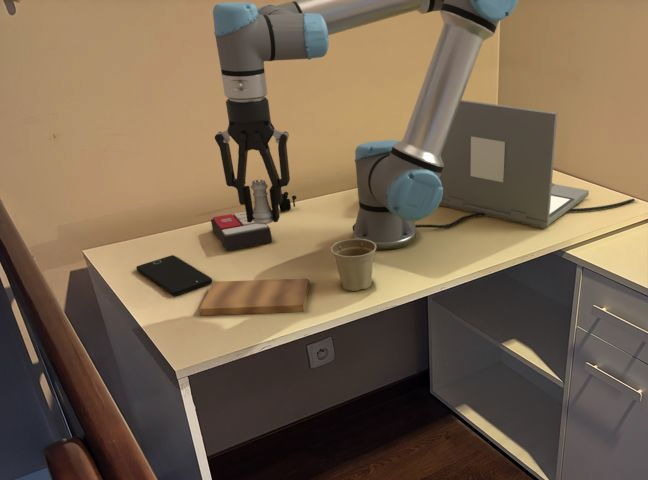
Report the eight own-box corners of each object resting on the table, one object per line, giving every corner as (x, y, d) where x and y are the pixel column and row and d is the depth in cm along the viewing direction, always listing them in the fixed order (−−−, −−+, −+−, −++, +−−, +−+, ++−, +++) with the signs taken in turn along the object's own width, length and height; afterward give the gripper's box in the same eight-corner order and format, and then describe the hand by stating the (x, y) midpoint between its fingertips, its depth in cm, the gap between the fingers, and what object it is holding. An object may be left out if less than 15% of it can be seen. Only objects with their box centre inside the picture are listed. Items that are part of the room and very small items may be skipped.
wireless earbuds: (275, 214, 180) (272, 196, 177) (270, 212, 182) (268, 193, 179) (298, 208, 184) (296, 190, 181) (293, 206, 186) (291, 188, 183)
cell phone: (173, 258, 157) (172, 254, 156) (213, 282, 146) (212, 278, 145) (136, 270, 151) (135, 266, 151) (174, 296, 141) (173, 292, 140)
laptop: (587, 199, 189) (599, 92, 174) (546, 231, 170) (555, 113, 155) (479, 178, 205) (481, 78, 190) (430, 204, 186) (428, 96, 171)
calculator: (253, 208, 174) (269, 224, 162) (256, 224, 176) (272, 242, 164) (209, 216, 169) (223, 233, 158) (213, 232, 171) (226, 251, 160)
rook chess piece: (279, 219, 137) (275, 180, 133) (265, 226, 134) (260, 186, 130) (262, 215, 139) (257, 176, 135) (247, 222, 136) (241, 183, 132)
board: (309, 284, 145) (309, 278, 145) (304, 311, 135) (303, 304, 135) (214, 287, 144) (213, 281, 143) (201, 315, 134) (199, 308, 133)
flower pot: (335, 275, 149) (331, 239, 144) (379, 274, 150) (376, 237, 145) (333, 295, 141) (329, 257, 136) (378, 294, 142) (376, 255, 137)
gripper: (192, 102, 121) (214, 227, 133) (292, 102, 121) (305, 226, 134) (203, 93, 127) (223, 213, 139) (297, 93, 128) (310, 212, 140)
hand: (263, 219), depth 136 cm, fingers closed on rook chess piece, 4 cm apart
